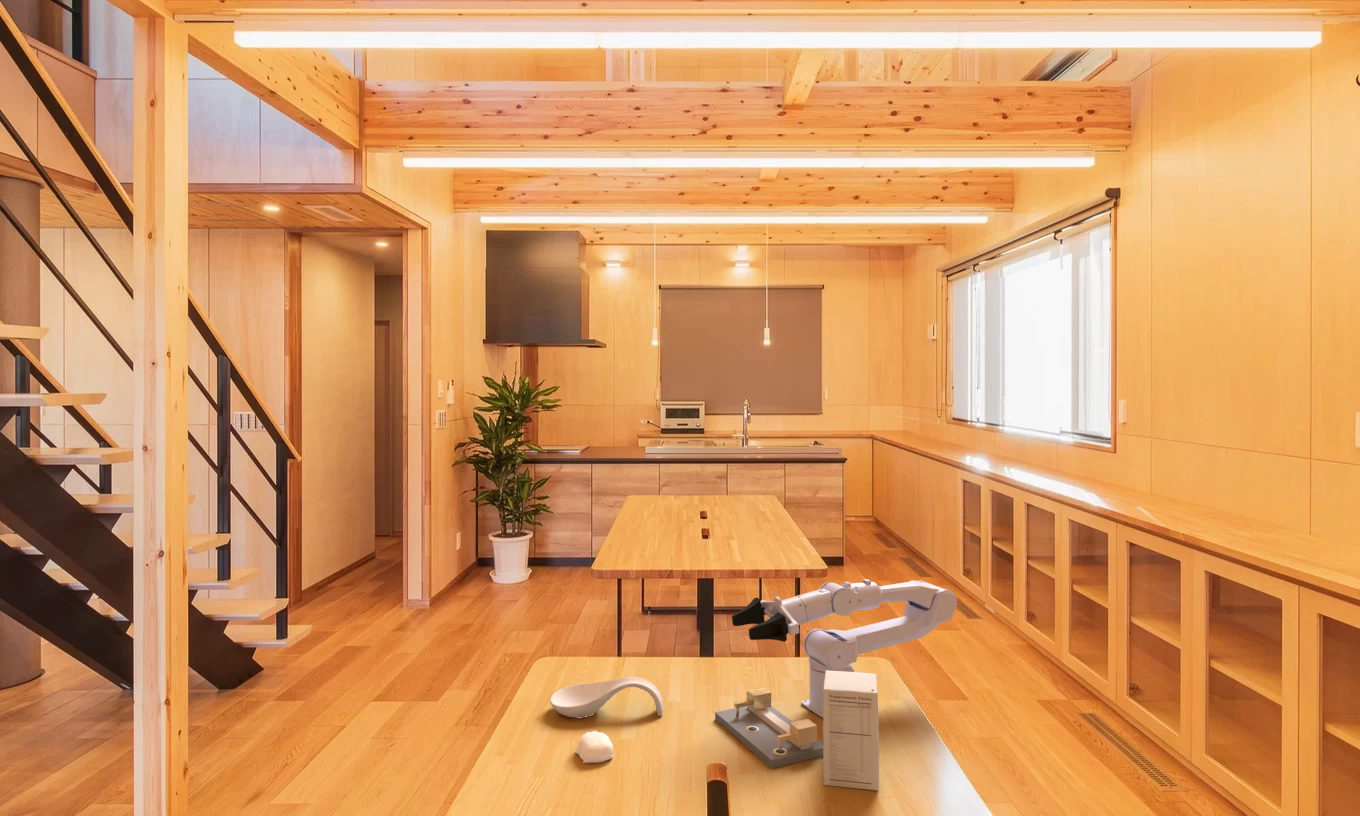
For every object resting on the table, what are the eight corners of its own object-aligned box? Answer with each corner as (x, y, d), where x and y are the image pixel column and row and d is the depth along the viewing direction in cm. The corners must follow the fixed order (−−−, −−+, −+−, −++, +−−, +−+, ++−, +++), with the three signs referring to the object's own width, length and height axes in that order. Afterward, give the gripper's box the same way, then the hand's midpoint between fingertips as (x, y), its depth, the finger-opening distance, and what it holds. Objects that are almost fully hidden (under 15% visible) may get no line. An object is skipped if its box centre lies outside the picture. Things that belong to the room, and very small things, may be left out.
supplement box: (878, 765, 136) (878, 672, 136) (879, 792, 127) (880, 693, 127) (824, 759, 139) (824, 668, 138) (822, 785, 130) (822, 688, 129)
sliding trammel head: (763, 707, 157) (763, 687, 157) (771, 712, 154) (771, 692, 154) (731, 713, 154) (731, 693, 154) (738, 719, 151) (739, 698, 151)
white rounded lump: (572, 749, 143) (572, 729, 143) (607, 743, 146) (606, 723, 145) (581, 769, 136) (581, 748, 136) (618, 762, 138) (618, 741, 138)
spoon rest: (545, 725, 153) (545, 690, 153) (555, 701, 165) (555, 668, 165) (662, 725, 153) (662, 690, 153) (664, 701, 165) (663, 668, 165)
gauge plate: (765, 708, 160) (765, 682, 160) (827, 754, 140) (827, 724, 140) (715, 719, 155) (715, 691, 155) (771, 768, 135) (771, 737, 135)
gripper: (780, 581, 164) (723, 597, 159) (816, 603, 150) (755, 621, 146) (783, 611, 165) (727, 628, 160) (819, 636, 151) (759, 655, 147)
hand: (741, 627), depth 153 cm, fingers open, 7 cm apart
